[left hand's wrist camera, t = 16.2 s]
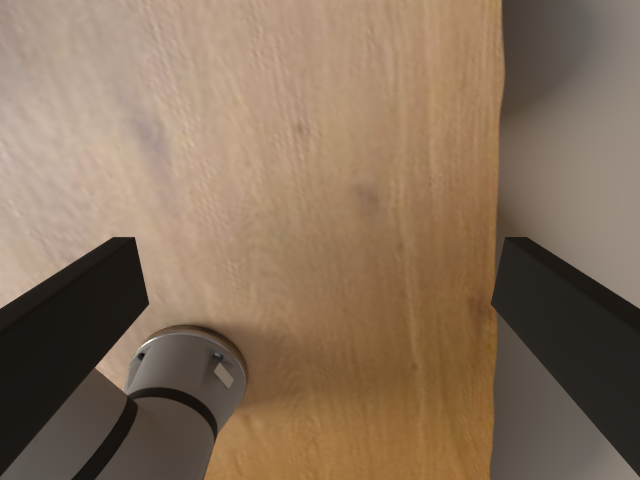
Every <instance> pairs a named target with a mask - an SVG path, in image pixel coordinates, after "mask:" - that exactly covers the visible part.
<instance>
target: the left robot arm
mask: <svg viewBox="0 0 640 480" xmlns="http://www.w3.org/2000/svg"><path fill="white" fill-rule="evenodd" d="M148 305H149V301H148V296H147V292H146V287H145V282H144V278H143V273H142V268H141V264H140V259H139V254H138V250H137V245H136V241H135V237H113V238H111V239H110V240H108V241H106V242H105V243H103V244H102V245H100V246H99V247H97V248H95V249H94V250H92V251H91V252H89V253H87V254H86V255H84V256H83V257H81V258H80V259H78V260H76V261H75V262H73V263H72V264H70V265H69V266H67V267H65V268H64V269H62V270H61V271H59V272H58V273H56V274H54V275H53V276H51V277H50V278H48V279H47V280H45V281H43V282H42V283H40V284H39V285H37V286H36V287H34V288H32V289H31V290H29V291H28V292H26V293H25V294H23V295H21V296H20V297H18V298H17V299H15V300H14V301H12V302H10V303H9V304H7V305H6V306H4V307H3V308H1V309H0V480H204V477H205V474H206V471H207V467H208V464H209V461H210V457H211V454H212V451H213V447H214V444H215V441H216V438H217V435H218V433H219V432H220V430H221V429H222V428H223V426H224V425H225V424H226V422H227V421H228V419H229V418H230V417H231V415H232V414H233V412H234V411H235V410H236V408H237V407H238V406H239V404H240V403H241V401H242V399H243V397H244V394H245V390H246V386H247V382H248V369H247V365H246V362H245V360H244V358H243V356H242V354H241V353H240V351H239V350H238V349H237V348H236V347H235V346H234V345H233V344H232V343H231V342H230V341H229V340H227V339H226V338H224V337H223V336H221V335H219V334H217V333H215V332H213V331H210V330H208V329H204V328H201V327H195V326H174V327H169V328H165V329H162V330H160V331H158V332H156V333H154V334H152V335H151V336H150V337H148V338H147V339H146V340H145V341H144V343H143V344H142V345H141V346H140V348H139V349H138V350H137V352H136V353H135V355H134V356H133V358H132V361H131V364H130V368H129V371H128V375H127V379H126V383H125V387H124V391H122V390H121V389H119V388H118V387H117V386H116V385H114V384H113V383H112V382H111V381H110V380H109V379H107V378H106V377H105V376H104V375H103V374H102V373H100V372H99V371H98V370H97V369H96V368H95V367H96V365H97V364H98V363H99V362H100V361H101V360H102V358H103V357H104V356H105V355H106V354H107V353H108V351H109V350H110V349H111V348H112V347H113V346H114V344H115V343H116V342H117V341H118V340H119V339H120V337H121V336H122V335H123V334H124V333H125V332H126V331H127V329H128V328H129V327H130V326H131V325H132V324H133V322H134V321H135V320H136V319H137V318H138V317H139V315H140V314H141V313H142V312H143V311H144V310H145V308H146V307H147V306H148ZM491 305H492V306H493V307H494V308H495V310H496V311H497V312H498V313H499V314H500V315H501V317H502V318H503V319H504V320H505V321H506V322H507V324H508V325H509V326H510V327H511V328H512V329H513V331H514V332H515V333H516V334H517V335H518V336H519V337H520V339H521V340H522V341H523V342H524V343H525V344H526V346H527V347H528V348H529V349H530V350H531V351H532V353H533V354H534V355H535V356H536V357H537V358H538V360H539V361H540V362H541V363H542V364H543V365H544V367H545V368H546V369H547V370H548V371H549V372H550V373H551V375H552V376H553V377H554V378H555V379H556V380H557V382H558V383H559V384H560V385H561V386H562V387H563V389H564V390H565V391H566V392H567V393H568V394H569V396H570V397H571V398H572V399H573V400H574V401H575V403H576V404H577V405H578V406H579V407H580V408H581V409H582V411H583V412H584V413H585V414H586V415H587V416H588V418H589V419H590V420H591V421H592V422H593V423H594V425H595V426H596V427H597V428H598V429H599V430H600V432H601V433H602V434H603V435H604V436H605V437H606V438H607V440H608V441H609V442H610V443H611V444H612V445H613V447H614V448H615V449H616V450H617V451H618V452H619V454H620V455H621V456H622V457H623V458H624V459H625V461H626V462H627V463H628V464H629V465H630V466H631V468H632V469H633V470H634V471H635V472H636V473H637V475H638V476H639V477H640V309H639V308H637V307H636V306H634V305H633V304H631V303H630V302H628V301H626V300H625V299H623V298H622V297H620V296H619V295H617V294H615V293H614V292H612V291H611V290H609V289H608V288H606V287H604V286H603V285H601V284H600V283H598V282H597V281H595V280H593V279H592V278H590V277H589V276H587V275H585V274H584V273H582V272H581V271H579V270H578V269H576V268H574V267H573V266H571V265H570V264H568V263H567V262H565V261H563V260H562V259H560V258H559V257H557V256H556V255H554V254H552V253H551V252H549V251H548V250H546V249H545V248H543V247H541V246H540V245H538V244H537V243H535V242H534V241H532V240H530V239H529V238H527V237H505V241H504V245H503V250H502V255H501V259H500V264H499V269H498V273H497V278H496V282H495V287H494V292H493V296H492V301H491Z"/></svg>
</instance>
